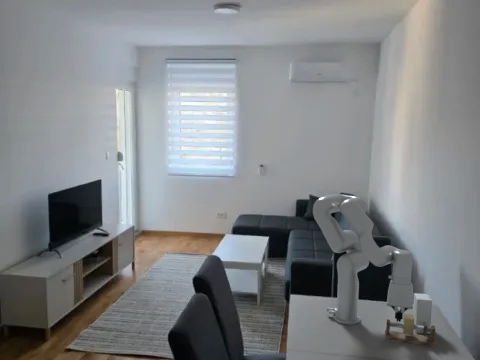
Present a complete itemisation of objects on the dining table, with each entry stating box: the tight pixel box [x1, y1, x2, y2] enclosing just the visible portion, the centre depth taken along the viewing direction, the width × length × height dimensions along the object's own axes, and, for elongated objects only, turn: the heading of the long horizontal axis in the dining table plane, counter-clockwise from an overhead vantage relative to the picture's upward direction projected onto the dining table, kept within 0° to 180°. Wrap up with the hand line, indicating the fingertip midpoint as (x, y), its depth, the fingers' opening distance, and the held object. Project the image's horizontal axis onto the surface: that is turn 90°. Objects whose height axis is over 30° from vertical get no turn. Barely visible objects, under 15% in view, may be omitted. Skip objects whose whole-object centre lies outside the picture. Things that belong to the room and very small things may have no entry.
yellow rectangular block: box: [401, 313, 415, 335], centre depth 191 cm, size 4×5×7 cm
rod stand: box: [384, 319, 437, 348], centre depth 191 cm, size 20×6×8 cm, turn 74°
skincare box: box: [412, 292, 433, 335], centre depth 200 cm, size 8×7×16 cm
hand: (398, 320), depth 192 cm, fingers closed
